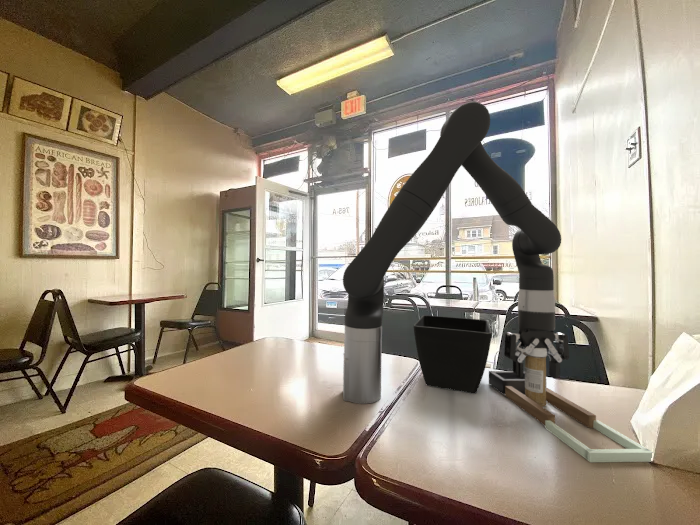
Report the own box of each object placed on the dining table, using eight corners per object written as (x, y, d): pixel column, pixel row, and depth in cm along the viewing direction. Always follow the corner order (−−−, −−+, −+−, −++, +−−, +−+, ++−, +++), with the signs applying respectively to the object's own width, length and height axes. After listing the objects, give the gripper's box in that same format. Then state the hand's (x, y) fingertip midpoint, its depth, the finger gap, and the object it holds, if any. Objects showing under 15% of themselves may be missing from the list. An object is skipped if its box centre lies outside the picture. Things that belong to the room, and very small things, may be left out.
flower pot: (491, 402, 70) (492, 331, 71) (411, 389, 77) (412, 324, 78) (487, 376, 88) (487, 319, 88) (422, 367, 95) (423, 315, 95)
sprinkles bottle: (550, 404, 70) (550, 347, 70) (541, 409, 67) (541, 349, 68) (529, 397, 73) (530, 343, 74) (520, 401, 71) (520, 345, 71)
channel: (547, 428, 59) (547, 415, 59) (505, 396, 74) (505, 385, 74) (595, 427, 60) (595, 415, 60) (543, 396, 75) (543, 386, 75)
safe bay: (590, 462, 49) (590, 453, 49) (545, 428, 59) (545, 420, 59) (654, 461, 49) (654, 452, 49) (598, 427, 60) (598, 420, 60)
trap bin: (502, 394, 75) (503, 380, 75) (488, 383, 82) (488, 371, 82) (541, 394, 76) (541, 380, 76) (523, 383, 83) (523, 371, 83)
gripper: (516, 310, 67) (516, 383, 66) (577, 311, 67) (578, 383, 67) (498, 306, 74) (498, 371, 74) (553, 307, 75) (554, 371, 74)
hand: (536, 377), depth 70 cm, fingers open, 8 cm apart
